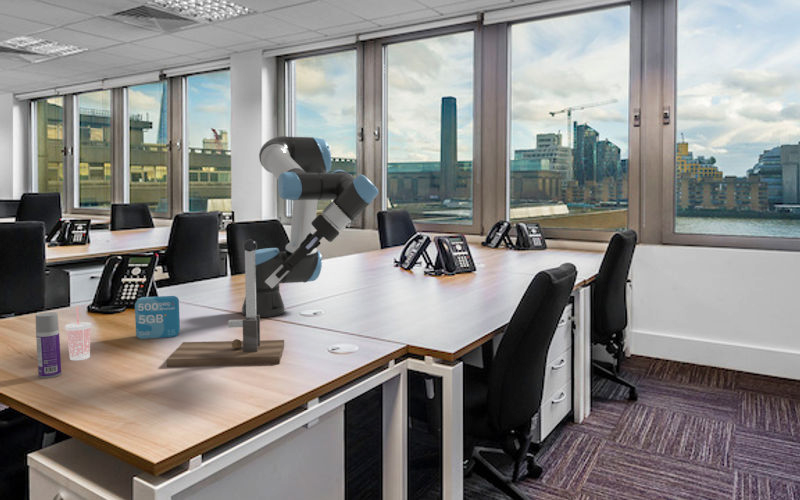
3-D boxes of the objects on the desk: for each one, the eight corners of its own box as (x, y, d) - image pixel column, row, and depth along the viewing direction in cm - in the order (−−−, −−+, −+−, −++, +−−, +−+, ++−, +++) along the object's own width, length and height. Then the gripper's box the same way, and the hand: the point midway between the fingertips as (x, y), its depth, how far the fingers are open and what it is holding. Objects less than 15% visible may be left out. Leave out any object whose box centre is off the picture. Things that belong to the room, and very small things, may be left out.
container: (65, 372, 139) (62, 312, 137) (54, 378, 134) (50, 316, 132) (46, 372, 138) (42, 312, 137) (34, 378, 134) (30, 316, 132)
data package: (136, 339, 169) (134, 300, 167) (138, 335, 173) (136, 297, 172) (179, 336, 172) (177, 298, 171) (180, 333, 176) (178, 295, 175)
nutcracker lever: (229, 327, 154) (227, 238, 151) (259, 326, 155) (257, 238, 152) (227, 330, 150) (225, 240, 148) (257, 329, 151) (255, 239, 149)
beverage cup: (87, 353, 154) (84, 302, 153) (97, 357, 150) (94, 305, 149) (62, 358, 150) (59, 306, 148) (72, 362, 146) (69, 309, 144)
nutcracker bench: (183, 349, 159) (182, 312, 158) (284, 346, 162) (283, 310, 161) (167, 366, 143) (165, 326, 142) (279, 363, 147) (278, 324, 146)
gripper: (341, 234, 146) (276, 299, 146) (340, 230, 159) (280, 289, 159) (320, 214, 145) (255, 279, 145) (320, 211, 158) (261, 271, 157)
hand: (268, 284), depth 152 cm, fingers closed
